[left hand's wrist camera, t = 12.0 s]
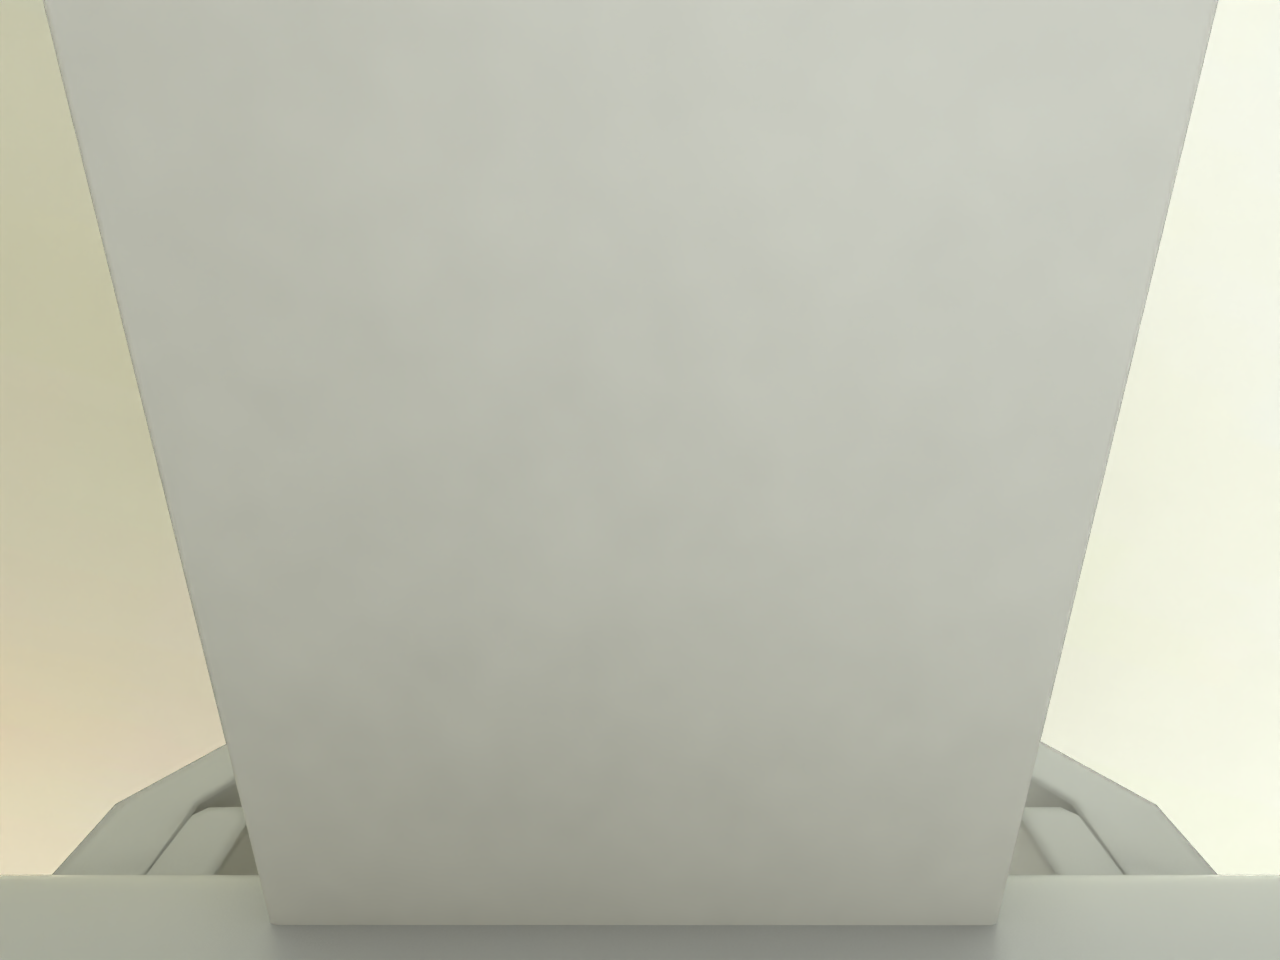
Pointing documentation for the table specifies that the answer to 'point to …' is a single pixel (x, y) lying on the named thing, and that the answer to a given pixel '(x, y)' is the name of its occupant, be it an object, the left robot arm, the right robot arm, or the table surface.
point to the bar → (631, 425)
